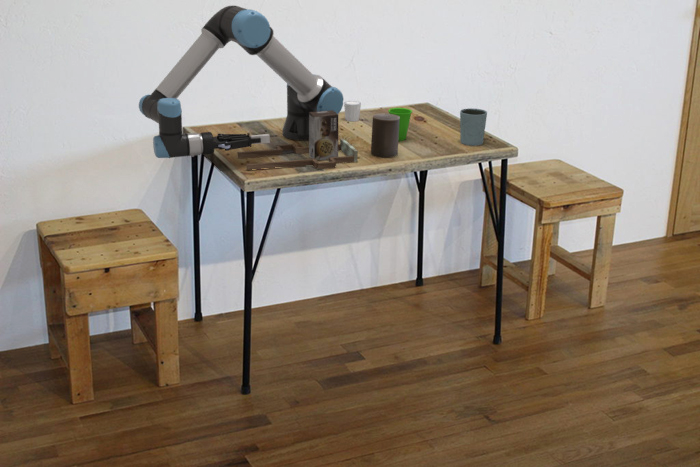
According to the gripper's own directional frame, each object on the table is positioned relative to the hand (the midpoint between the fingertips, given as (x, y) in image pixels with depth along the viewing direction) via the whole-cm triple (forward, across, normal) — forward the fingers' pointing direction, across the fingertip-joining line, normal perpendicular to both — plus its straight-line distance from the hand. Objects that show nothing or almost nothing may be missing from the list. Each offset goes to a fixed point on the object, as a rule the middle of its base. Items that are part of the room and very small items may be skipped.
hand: (269, 138), depth 313 cm
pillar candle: (+42, +1, -9) cm, 43 cm away
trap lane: (+9, 0, -8) cm, 13 cm away
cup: (+54, -15, -9) cm, 57 cm away
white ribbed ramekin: (+46, -46, -9) cm, 66 cm away
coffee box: (+20, 0, -9) cm, 21 cm away
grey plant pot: (+79, -4, -9) cm, 80 cm away
